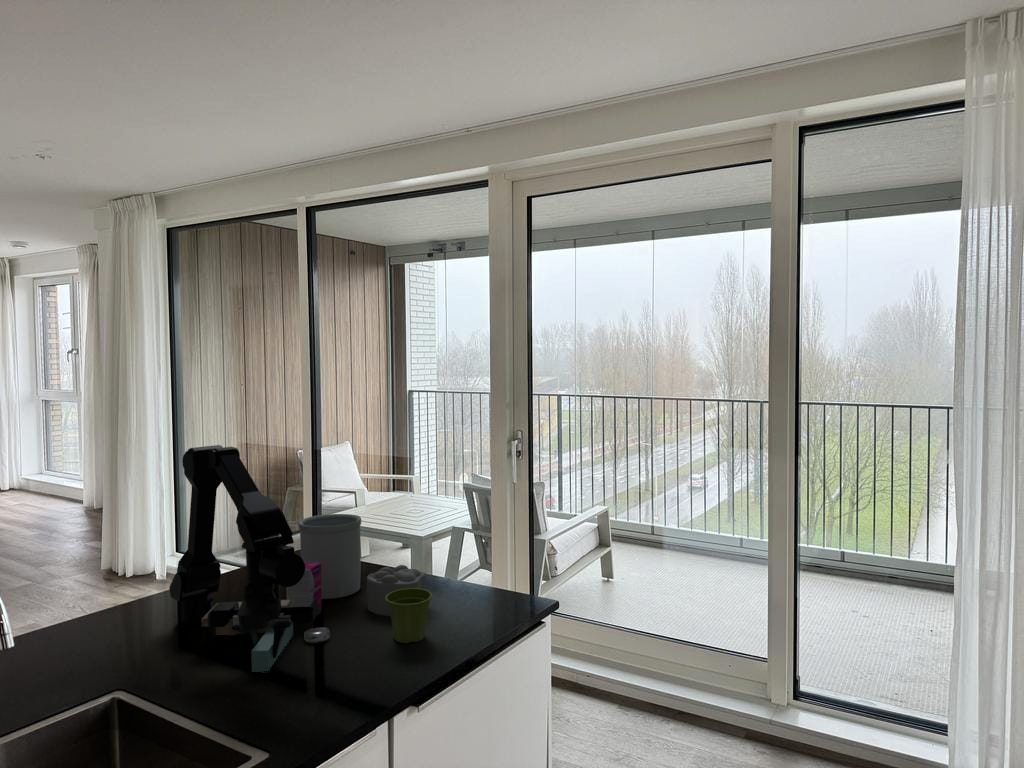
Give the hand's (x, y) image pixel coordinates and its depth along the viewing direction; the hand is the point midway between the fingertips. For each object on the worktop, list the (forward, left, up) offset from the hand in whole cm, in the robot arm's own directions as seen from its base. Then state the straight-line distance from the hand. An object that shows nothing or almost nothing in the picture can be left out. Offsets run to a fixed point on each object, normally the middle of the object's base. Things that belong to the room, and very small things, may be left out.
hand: (265, 657), depth 129 cm
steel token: (+7, +11, -2) cm, 13 cm away
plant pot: (+26, +9, -2) cm, 28 cm away
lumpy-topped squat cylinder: (+22, +27, -2) cm, 35 cm away
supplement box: (+2, +24, -2) cm, 25 cm away
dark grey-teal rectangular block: (0, +5, -1) cm, 5 cm away
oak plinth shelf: (-6, +11, -1) cm, 13 cm away
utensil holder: (+5, +41, -2) cm, 42 cm away
